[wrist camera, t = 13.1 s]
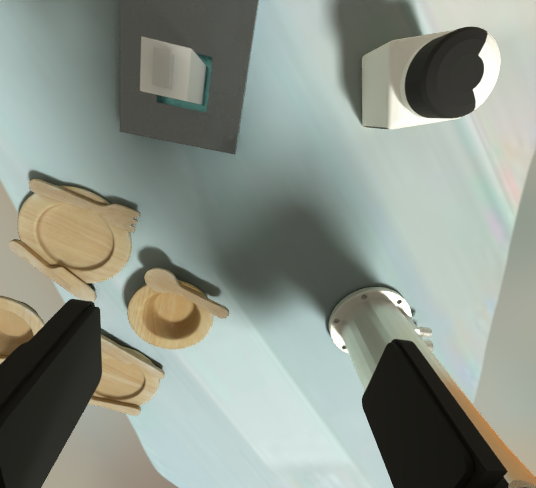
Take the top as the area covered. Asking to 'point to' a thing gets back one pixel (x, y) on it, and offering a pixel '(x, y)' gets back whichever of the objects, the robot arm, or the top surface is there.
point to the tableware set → (96, 270)
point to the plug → (172, 71)
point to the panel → (207, 49)
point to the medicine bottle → (428, 78)
